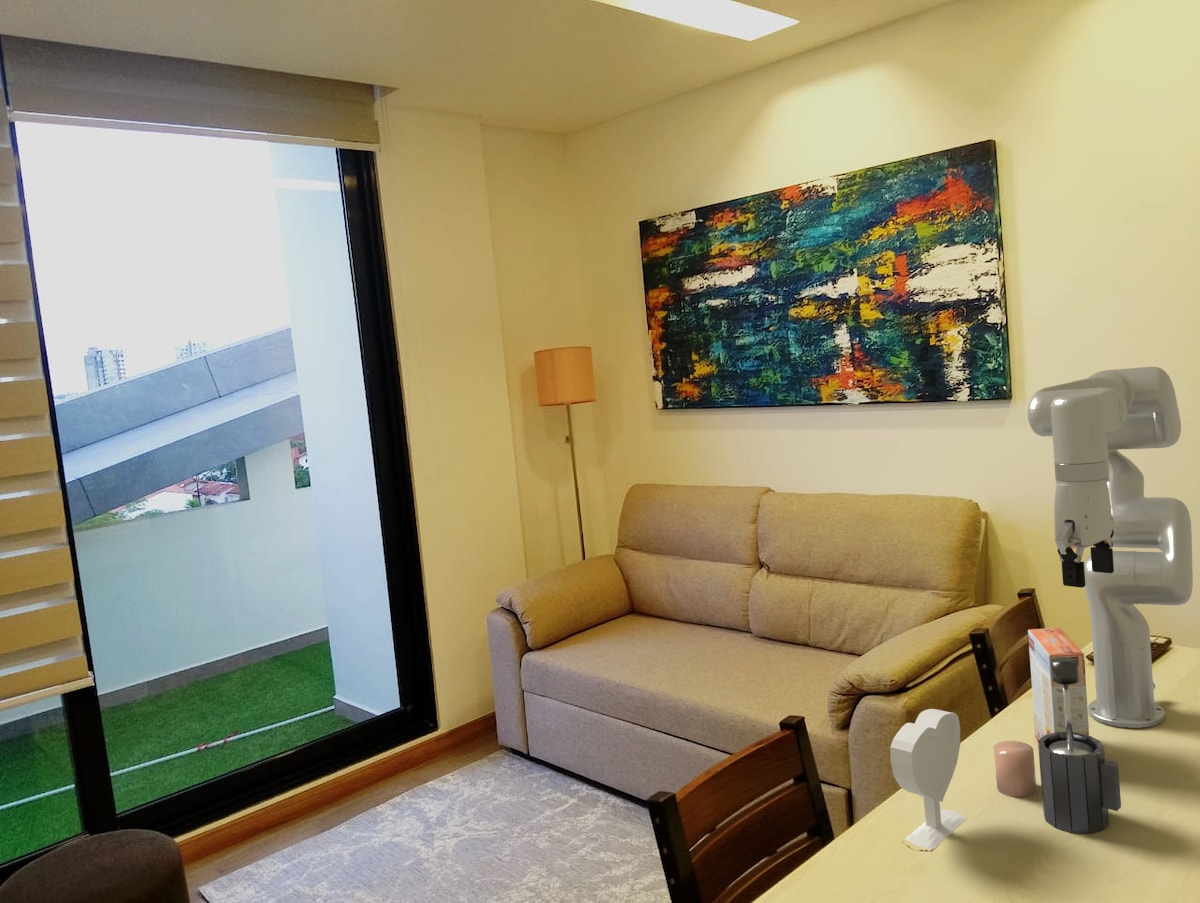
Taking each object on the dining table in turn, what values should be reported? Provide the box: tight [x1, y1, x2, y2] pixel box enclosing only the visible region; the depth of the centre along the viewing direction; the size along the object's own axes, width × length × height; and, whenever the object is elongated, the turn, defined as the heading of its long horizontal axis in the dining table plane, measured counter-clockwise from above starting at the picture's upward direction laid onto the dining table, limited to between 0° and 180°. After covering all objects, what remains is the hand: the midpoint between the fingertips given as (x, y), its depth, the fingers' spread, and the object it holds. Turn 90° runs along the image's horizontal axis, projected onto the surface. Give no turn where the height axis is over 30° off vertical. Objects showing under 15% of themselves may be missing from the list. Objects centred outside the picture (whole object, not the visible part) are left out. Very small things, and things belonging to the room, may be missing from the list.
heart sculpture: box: [889, 708, 967, 850], centre depth 144 cm, size 16×5×18 cm, turn 133°
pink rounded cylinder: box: [993, 740, 1037, 799], centre depth 153 cm, size 6×6×7 cm
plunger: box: [1049, 657, 1093, 755], centre depth 141 cm, size 6×6×15 cm
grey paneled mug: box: [1037, 732, 1122, 835], centre depth 141 cm, size 9×11×12 cm
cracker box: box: [1027, 627, 1090, 741], centre depth 162 cm, size 14×6×21 cm, turn 168°
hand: (1088, 579), depth 146 cm, fingers open, 9 cm apart
